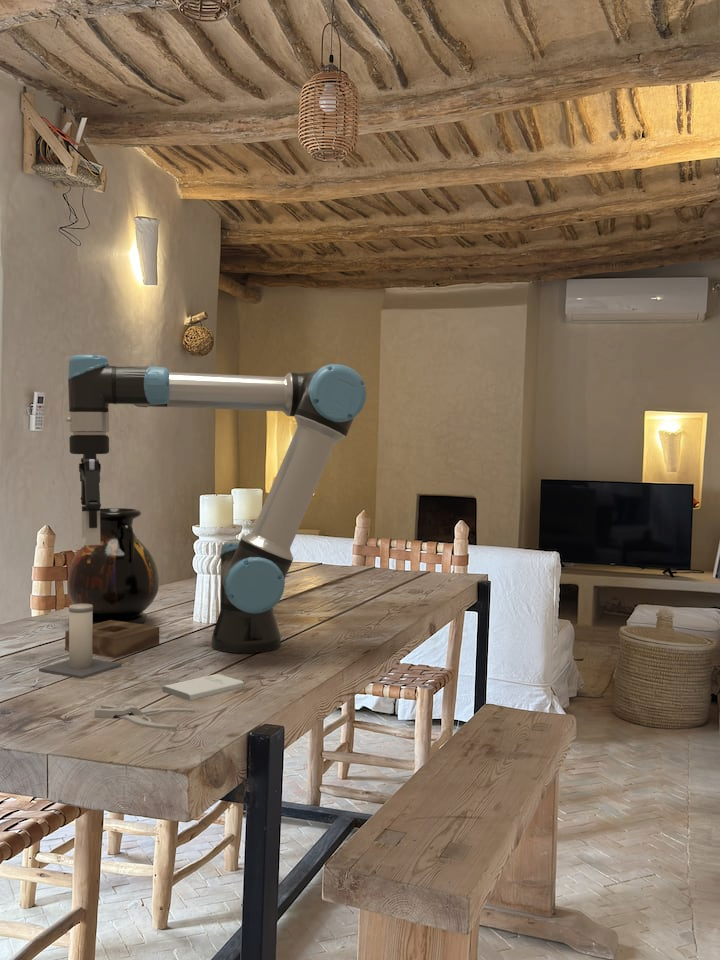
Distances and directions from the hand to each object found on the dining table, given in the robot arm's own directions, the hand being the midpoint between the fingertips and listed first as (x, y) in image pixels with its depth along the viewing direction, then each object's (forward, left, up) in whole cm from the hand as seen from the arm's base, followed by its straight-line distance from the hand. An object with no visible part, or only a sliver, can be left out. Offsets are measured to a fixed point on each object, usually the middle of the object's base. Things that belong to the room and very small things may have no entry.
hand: (90, 541), depth 180 cm
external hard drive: (-29, +2, -26) cm, 39 cm away
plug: (0, +3, -25) cm, 25 cm away
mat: (0, +3, -25) cm, 25 cm away
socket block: (+7, -14, -25) cm, 30 cm away
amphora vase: (+23, -32, -25) cm, 47 cm away
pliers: (-30, +21, -26) cm, 45 cm away
